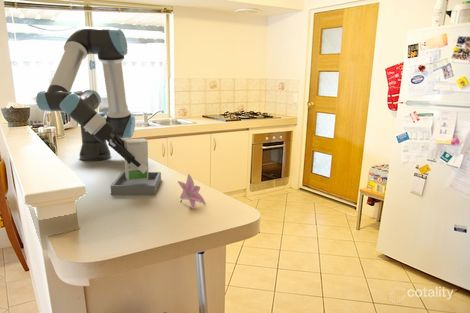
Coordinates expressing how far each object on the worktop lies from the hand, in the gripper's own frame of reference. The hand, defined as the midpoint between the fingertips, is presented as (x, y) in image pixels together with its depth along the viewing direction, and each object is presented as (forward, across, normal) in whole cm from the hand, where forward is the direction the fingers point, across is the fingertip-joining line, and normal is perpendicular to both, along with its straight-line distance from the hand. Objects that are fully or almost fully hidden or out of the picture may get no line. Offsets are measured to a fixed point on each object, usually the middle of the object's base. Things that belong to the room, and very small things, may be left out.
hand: (145, 168), depth 135 cm
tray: (+3, 0, -8) cm, 8 cm away
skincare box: (+1, 0, -6) cm, 6 cm away
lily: (+16, +22, +5) cm, 28 cm away
